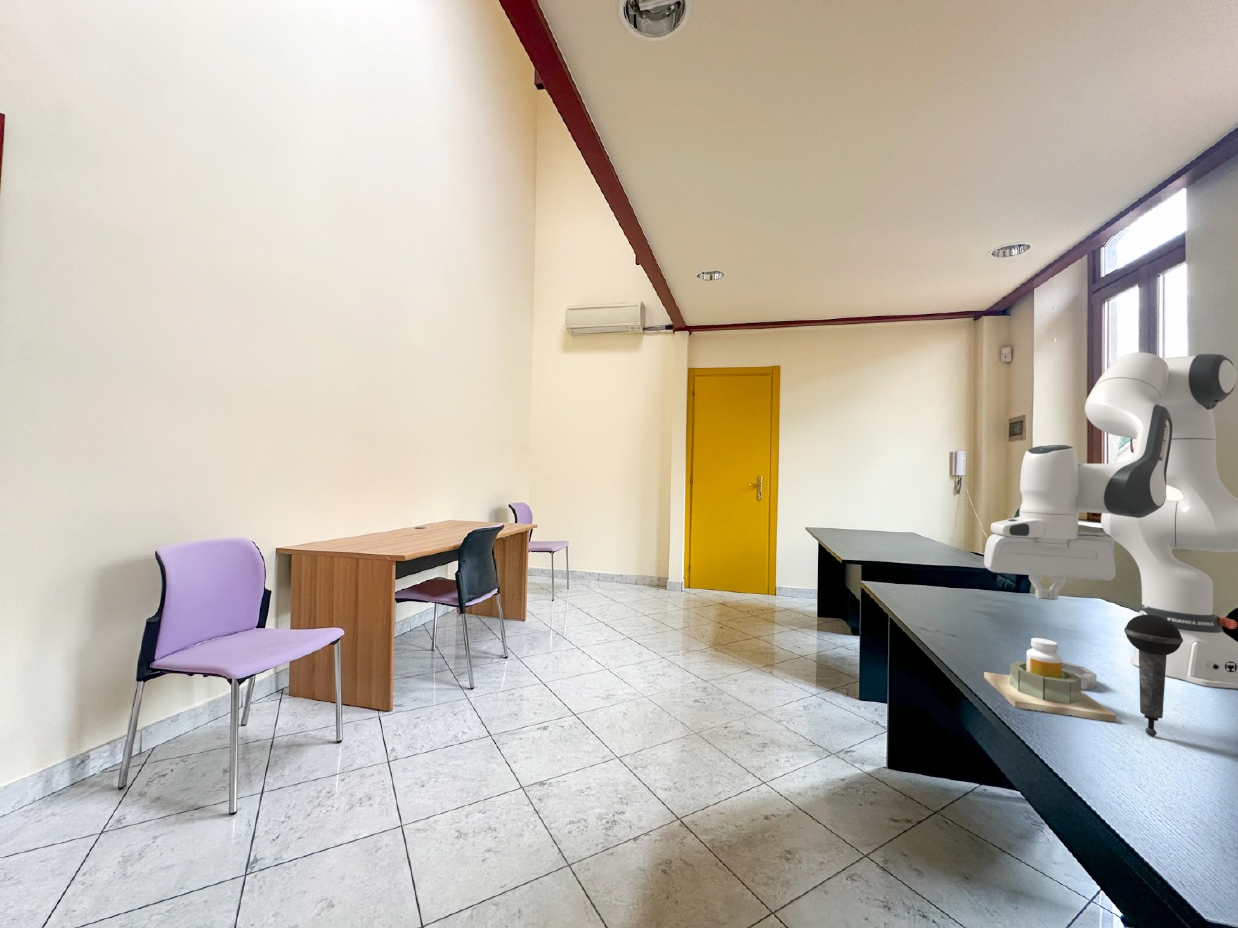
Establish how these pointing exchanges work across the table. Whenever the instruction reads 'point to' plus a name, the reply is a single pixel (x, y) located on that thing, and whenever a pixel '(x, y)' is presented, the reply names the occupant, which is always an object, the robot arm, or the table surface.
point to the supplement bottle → (1044, 658)
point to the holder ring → (1082, 675)
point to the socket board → (1047, 693)
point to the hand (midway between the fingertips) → (1046, 598)
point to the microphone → (1152, 661)
